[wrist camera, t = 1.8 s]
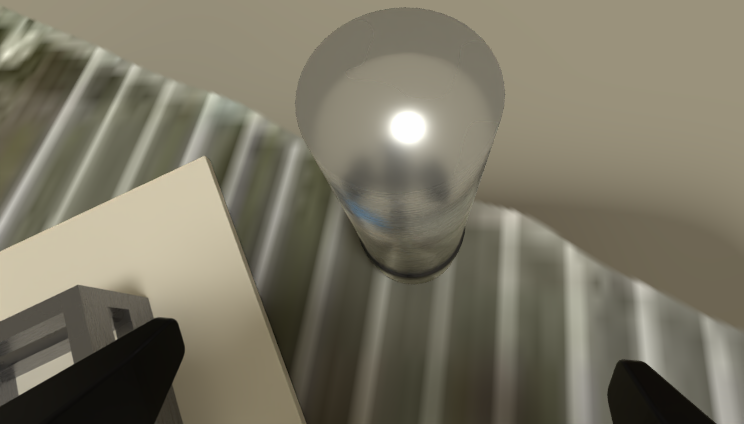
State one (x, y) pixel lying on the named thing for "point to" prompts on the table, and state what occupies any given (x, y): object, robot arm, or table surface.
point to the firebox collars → (71, 335)
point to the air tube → (403, 132)
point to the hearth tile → (167, 292)
